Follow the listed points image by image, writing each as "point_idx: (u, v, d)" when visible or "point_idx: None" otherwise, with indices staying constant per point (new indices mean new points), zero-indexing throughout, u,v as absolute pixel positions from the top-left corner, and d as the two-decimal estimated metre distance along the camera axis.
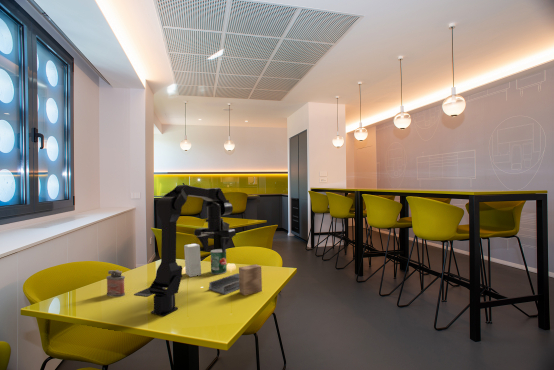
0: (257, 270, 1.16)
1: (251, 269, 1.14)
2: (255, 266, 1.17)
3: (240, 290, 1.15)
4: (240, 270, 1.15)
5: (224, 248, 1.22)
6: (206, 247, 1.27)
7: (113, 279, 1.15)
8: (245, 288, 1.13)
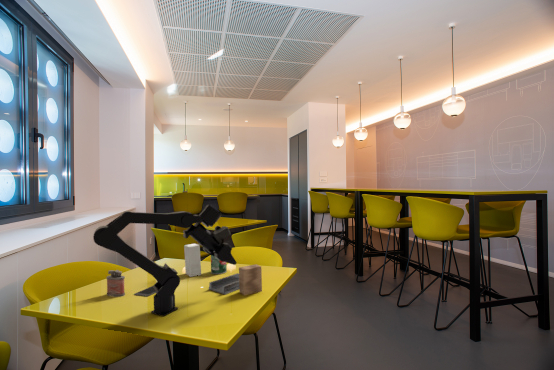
0: (257, 270, 1.16)
1: (251, 269, 1.14)
2: (255, 266, 1.17)
3: (240, 290, 1.15)
4: (240, 270, 1.15)
5: (232, 261, 1.07)
6: None
7: (113, 279, 1.15)
8: (245, 288, 1.13)
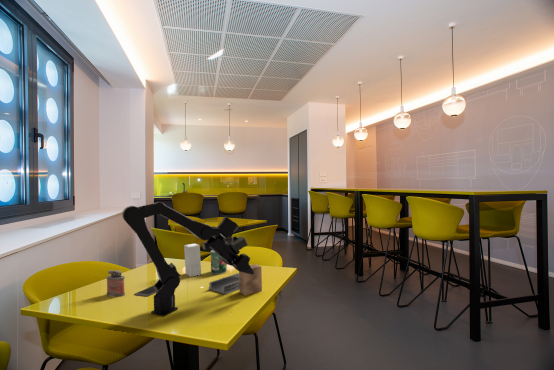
0: (257, 270, 1.16)
1: None
2: (255, 266, 1.17)
3: (240, 290, 1.15)
4: None
5: (250, 271, 1.11)
6: None
7: (113, 279, 1.15)
8: (245, 288, 1.13)
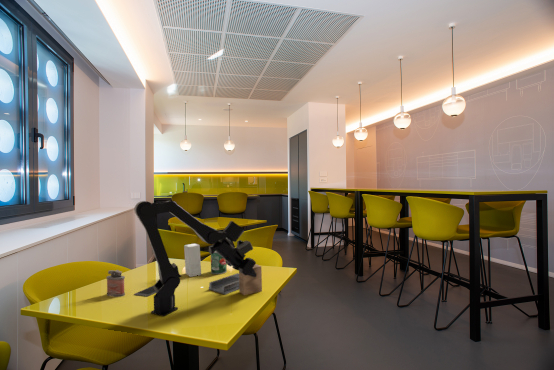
0: (257, 269, 1.16)
1: None
2: (255, 266, 1.17)
3: (240, 290, 1.15)
4: None
5: (253, 274, 1.14)
6: None
7: (113, 279, 1.15)
8: (245, 287, 1.13)
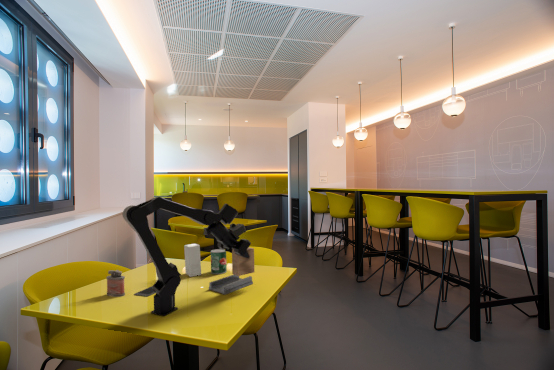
0: (250, 251, 1.19)
1: None
2: (248, 248, 1.20)
3: (233, 272, 1.18)
4: (233, 252, 1.17)
5: (246, 255, 1.17)
6: None
7: (113, 279, 1.15)
8: (239, 269, 1.16)
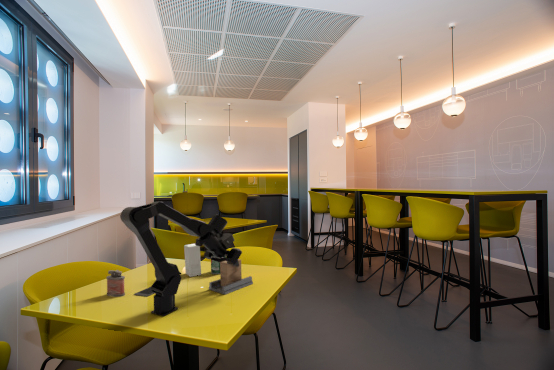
0: None
1: None
2: None
3: (222, 284, 1.21)
4: (222, 264, 1.21)
5: (236, 264, 1.20)
6: None
7: (113, 279, 1.15)
8: (228, 280, 1.19)
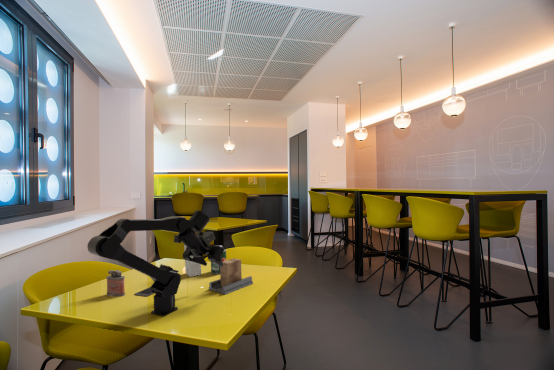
0: (238, 263, 1.23)
1: (233, 262, 1.21)
2: (235, 260, 1.24)
3: (222, 284, 1.21)
4: None
5: (220, 263, 1.13)
6: (203, 263, 1.18)
7: (113, 279, 1.15)
8: (228, 280, 1.19)
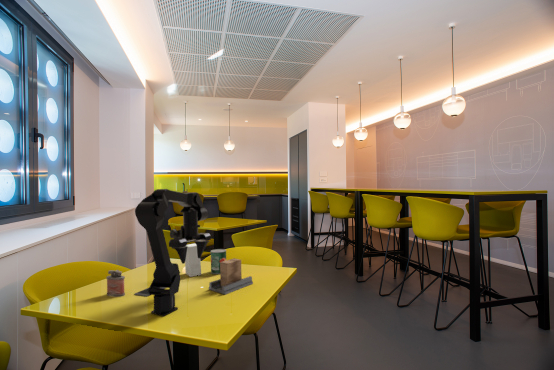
0: (238, 263, 1.23)
1: (233, 262, 1.21)
2: (235, 260, 1.24)
3: (222, 284, 1.21)
4: (222, 264, 1.21)
5: None
6: None
7: (113, 279, 1.15)
8: (228, 280, 1.19)
